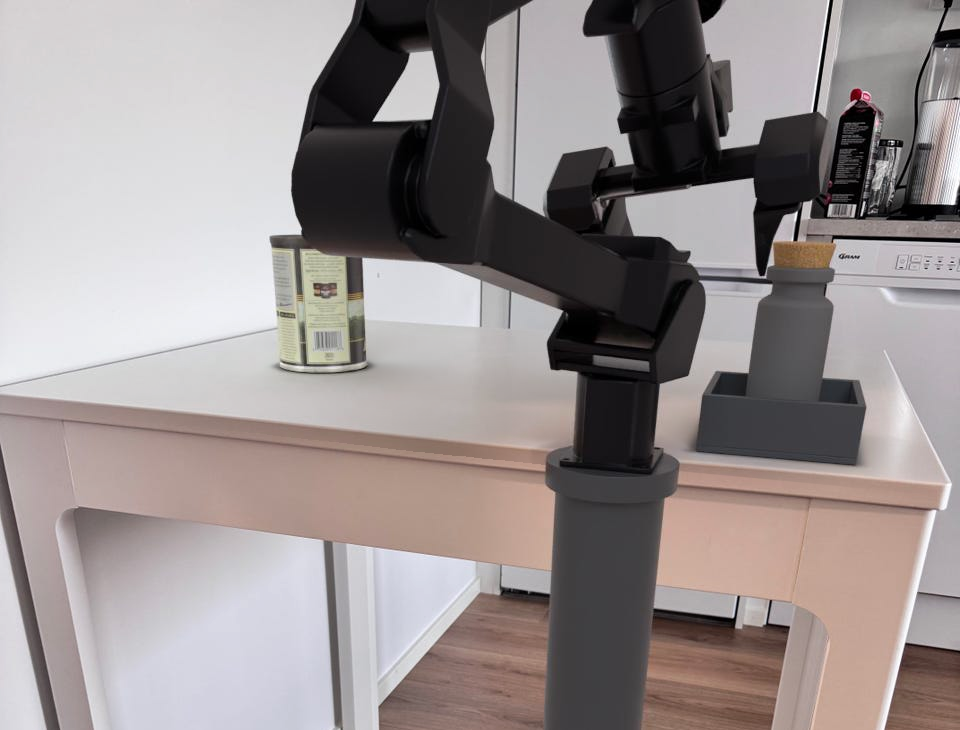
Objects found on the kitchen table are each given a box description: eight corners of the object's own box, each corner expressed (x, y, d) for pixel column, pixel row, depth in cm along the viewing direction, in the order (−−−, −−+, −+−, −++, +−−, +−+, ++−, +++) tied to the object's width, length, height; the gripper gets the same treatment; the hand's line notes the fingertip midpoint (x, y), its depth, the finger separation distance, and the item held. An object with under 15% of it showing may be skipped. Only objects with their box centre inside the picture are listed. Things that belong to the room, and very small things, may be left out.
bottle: (727, 434, 80) (752, 241, 73) (761, 424, 83) (787, 240, 77) (792, 447, 76) (824, 244, 70) (824, 435, 80) (857, 243, 74)
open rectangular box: (855, 465, 73) (866, 406, 71) (695, 451, 76) (702, 394, 74) (850, 431, 84) (859, 380, 82) (709, 420, 87) (715, 370, 85)
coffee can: (334, 356, 118) (329, 233, 112) (384, 367, 111) (381, 236, 105) (261, 364, 112) (251, 234, 106) (310, 376, 105) (302, 238, 99)
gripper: (835, -33, 59) (845, 194, 71) (555, 31, 67) (607, 224, 79) (810, 69, 54) (826, 295, 66) (511, 124, 62) (573, 316, 74)
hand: (700, 278), depth 71 cm, fingers open, 9 cm apart
